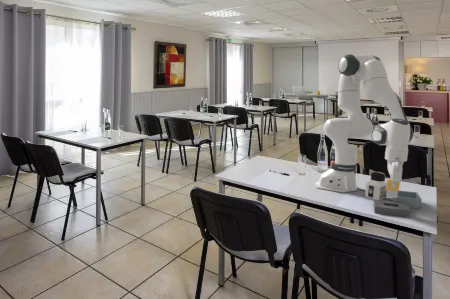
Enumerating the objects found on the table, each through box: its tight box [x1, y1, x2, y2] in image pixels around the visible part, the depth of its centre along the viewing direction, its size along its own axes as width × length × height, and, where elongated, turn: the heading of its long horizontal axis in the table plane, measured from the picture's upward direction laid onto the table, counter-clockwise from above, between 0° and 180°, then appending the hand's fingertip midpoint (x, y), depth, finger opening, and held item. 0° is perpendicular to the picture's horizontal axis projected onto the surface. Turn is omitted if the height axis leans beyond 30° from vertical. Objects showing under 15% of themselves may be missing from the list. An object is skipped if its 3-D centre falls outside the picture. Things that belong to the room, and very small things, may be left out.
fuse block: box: [372, 199, 411, 218], centre depth 154 cm, size 14×10×3 cm
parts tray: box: [391, 189, 423, 209], centre depth 164 cm, size 11×11×4 cm
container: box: [364, 171, 388, 200], centre depth 171 cm, size 8×8×13 cm
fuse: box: [386, 178, 401, 198], centre depth 152 cm, size 5×2×8 cm, turn 67°
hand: (392, 185), depth 152 cm, fingers closed on fuse, 2 cm apart
